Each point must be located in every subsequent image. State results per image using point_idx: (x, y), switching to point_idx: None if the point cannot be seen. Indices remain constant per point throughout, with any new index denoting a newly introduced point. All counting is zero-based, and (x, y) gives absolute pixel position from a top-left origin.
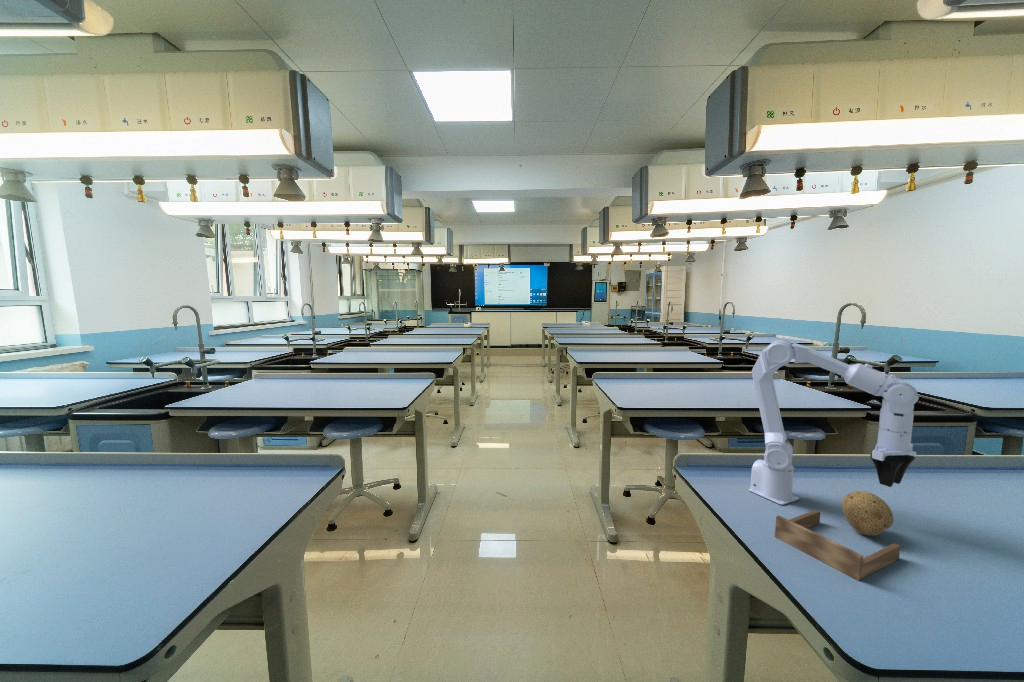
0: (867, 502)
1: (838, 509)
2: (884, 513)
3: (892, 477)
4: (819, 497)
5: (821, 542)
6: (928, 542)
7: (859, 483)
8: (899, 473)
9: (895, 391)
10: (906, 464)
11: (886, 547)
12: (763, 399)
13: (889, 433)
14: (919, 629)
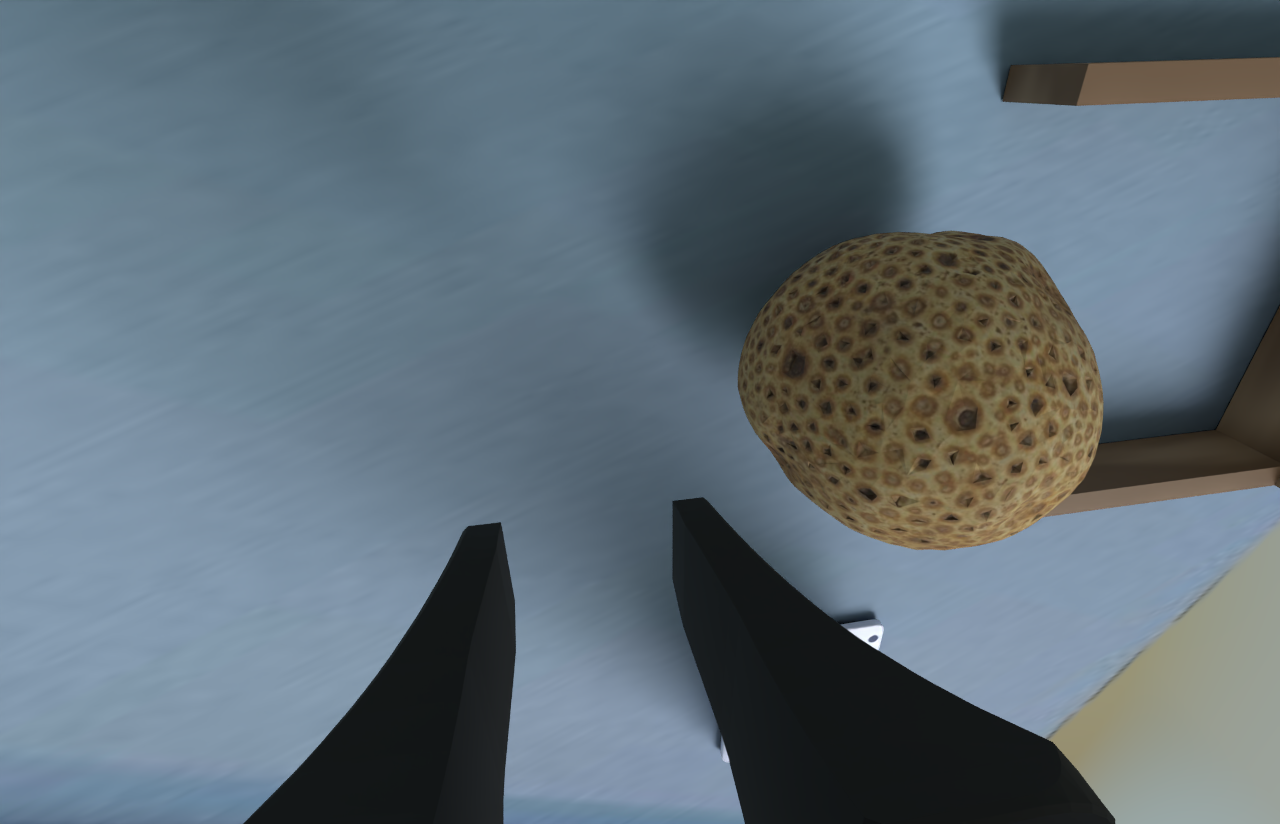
0: (1099, 403)
1: (641, 532)
2: (1026, 279)
3: (781, 577)
4: (586, 637)
5: None
6: (560, 84)
7: (87, 713)
8: (487, 639)
9: None
10: (451, 784)
11: (1192, 96)
12: None
13: None
14: None
